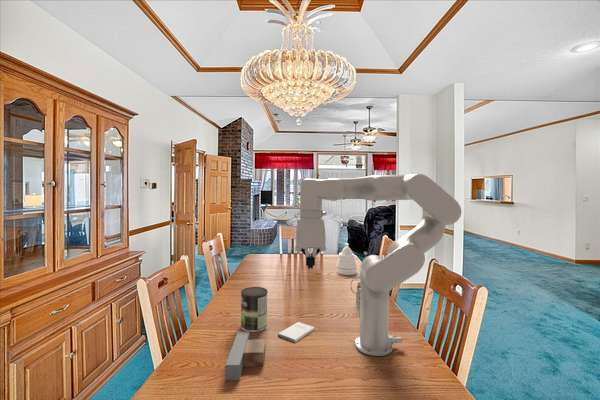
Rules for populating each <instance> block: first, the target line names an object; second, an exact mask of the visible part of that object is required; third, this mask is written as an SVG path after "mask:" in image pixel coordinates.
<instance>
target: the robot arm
mask: <svg viewBox="0 0 600 400" xmlns="http://www.w3.org/2000/svg"><path fill="white" fill-rule="evenodd" d="M299 187H300V189H299V190H300V191H299V198H300V199H299V202H300V203H299V218H297V220H296V221H297V222H296V226H295V227H296V228H295V230H296V231H295V246H294V247H295V248H294V250H295V251H296V252H299V253H302V254H303V255H304V256H305V265H306V266H307V269H308V270H309V269H311V270H313V269H314V266H316V256H318V254H320V253H322V252H326V251H327V246H326V241H327V240H326V239H327V238H326V227H325V226H326V225H325V219H324V218H323V217H324V216H327V212H326V211H324V210H323V200H324V201H325V200H326V201H332V202H336V201H340V200H365V201H371V202H372V201H374V202H375V201H376V202H379V201H380V202H381V201H406V200H407V201H408V200H409V201H411V200H412V201H414V202H415V203H416V204H417V205H418V206H419V207H420V208H422V212H421V213H422V214H421V215H422V216H421V218H420V219H421V220H420V222H419V223H418V224H417V225H415V227H414V228H412V229H410V231H408V232H406V233H405V234H403V235H402V236H400V237H399V238H397V239H396V240H394V241H392V242H391V243H390V244H389V246H388V248H387V255H386V256H384V257H383V256H380V255H376V254H370V255H368V256H367V255H366V258H364V259H363V260H362V261H361V263H360V267H359V273H360V278H359V279H360V280H359V282H360V286H361V288H360V289H361V293H360V294H361V297H360V308H359V336H358V337H356V338H355V340H354V346H355V348H356V349H357V350H358V351H359V352H360V353H363V354H365V355H368V356H374V357H383V356H388V355H390V354H391V353H392V352H393V345H394V344H402V343H403V338H402V337H400V336H397V335H396V334H390V333H389V315H390V314H389V312H390V311H389V310H390V309H389V307H390V291H391V290H393V289H395V288H397V287H398V286H400V285H401V284H402V283H404V282H405V281H407V280H409V279H410V278H412V277H413V276H415V275H416V274H418V273H419V272H420V271H421V270H422V269H423V266H424V265H425V261H426V256H425V253H427V252H428V251H430V250H431V249H432V248H434V247H435V246H437V244H438V243H440V242H441V240H442V239H443V236H444V234H445V230H446V226H449V225H450V226H451V225H454V224H455V223H457V222H458V221H459V220H460V218H461V215H462V207H461V205H460V203H459V202H458V200H457V199H455V198H454V197H453V196H452V195H451V194H450V193H448V192H447V191H446V190H444V189H443V188H442V186H440V185H439V184H438V183H436V182H435V181H434V180H433V179H431V178H430V177H429V176H428V175H426V174H422V173H412V174H389V175H388V174H387V175H386V174H384V175H383V174H380V175H379V174H378V175H368V176H363V177H355V178H354V177H353V178H352V177H351V178H336V177H332V178H326V179H319V178H303V179H302V180H300V185H299ZM309 249H312V251H311V253H310V252H309Z"/></svg>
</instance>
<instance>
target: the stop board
mask: <svg viewBox="0 0 600 400" xmlns="http://www.w3.org/2000/svg"><path fill="white" fill-rule="evenodd" d="M247 340H250V332H247V331H237V333H236V336H235V339H234V340H233V343H232V347H231V348H230V352H229V354H228V358H227V359H226V362H225V367H224V368H225V375H224V376H225V381H241V376H242V373H243V369H244V367H245V366H244V350H245V346H246V343H247Z"/></svg>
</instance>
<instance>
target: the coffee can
mask: <svg viewBox="0 0 600 400" xmlns="http://www.w3.org/2000/svg"><path fill="white" fill-rule="evenodd" d="M240 293H241V295H240V296H241V299H240V303H241V305H240V306H241V307H240V308H241V309H240V310H241V311H240V312H241V313H240V314H241V315H240V317H241V320H240V328H241V330H242V331H243V332H249V333H258V332H261V331H264V330H265V329H266V328H267V327H268V293H269V292H268V288H265V287H262V286H249V287H245V288H243V289H241V290H240Z"/></svg>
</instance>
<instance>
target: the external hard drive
mask: <svg viewBox="0 0 600 400" xmlns="http://www.w3.org/2000/svg"><path fill="white" fill-rule="evenodd" d="M313 331H316V327H314V326H312V325H308V324H306V323H303V322H301V321H298V322H295V323H294V324H292V325H290V326H289V327H287V328H285V329H284V330H282V331H280V332H279V333H277V337H280V338H282V339H285V340H287V341H290V342H293V343H295V344H296V343H297V342H299V341H301V340H302V339H303V338H305V337H306V336H308V335H309V334H310V333H313Z"/></svg>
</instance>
